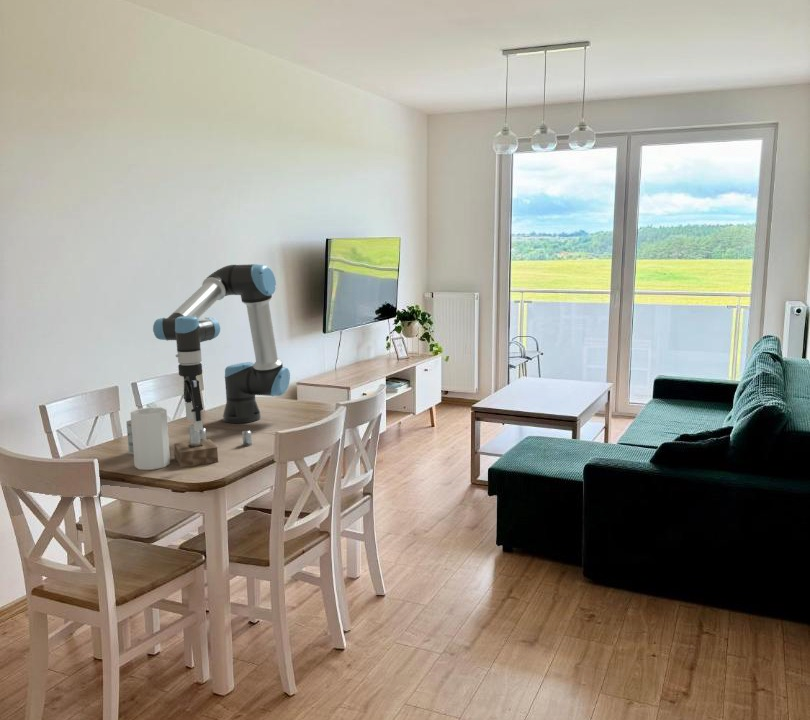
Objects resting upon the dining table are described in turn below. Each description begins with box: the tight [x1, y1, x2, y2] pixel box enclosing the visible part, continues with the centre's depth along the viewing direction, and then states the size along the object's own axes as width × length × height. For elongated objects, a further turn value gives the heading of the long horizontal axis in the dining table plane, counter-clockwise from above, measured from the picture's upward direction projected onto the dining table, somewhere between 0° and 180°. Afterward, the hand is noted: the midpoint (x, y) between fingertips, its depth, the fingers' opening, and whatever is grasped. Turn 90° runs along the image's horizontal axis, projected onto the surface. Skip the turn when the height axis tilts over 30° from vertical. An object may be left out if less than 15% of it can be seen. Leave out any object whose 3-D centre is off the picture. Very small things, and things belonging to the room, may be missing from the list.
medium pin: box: [199, 427, 207, 440], centre depth 262 cm, size 3×3×8 cm
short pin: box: [241, 429, 253, 447], centre depth 270 cm, size 3×3×5 cm
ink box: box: [126, 419, 134, 455], centre depth 261 cm, size 9×5×12 cm, turn 66°
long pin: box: [188, 423, 201, 448], centre depth 251 cm, size 3×3×12 cm
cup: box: [130, 406, 171, 471], centre depth 246 cm, size 11×11×18 cm
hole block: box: [173, 438, 219, 468], centre depth 252 cm, size 12×12×5 cm
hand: (194, 425), depth 251 cm, fingers open, 13 cm apart
